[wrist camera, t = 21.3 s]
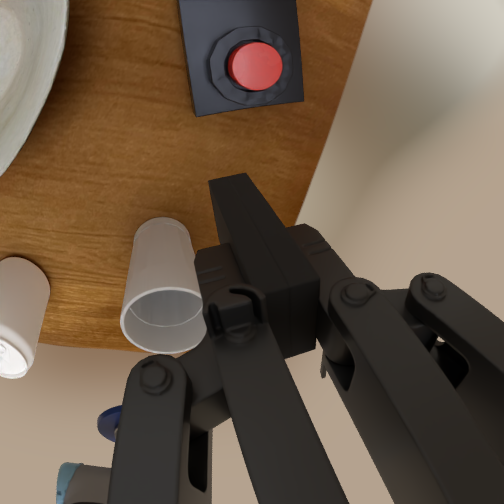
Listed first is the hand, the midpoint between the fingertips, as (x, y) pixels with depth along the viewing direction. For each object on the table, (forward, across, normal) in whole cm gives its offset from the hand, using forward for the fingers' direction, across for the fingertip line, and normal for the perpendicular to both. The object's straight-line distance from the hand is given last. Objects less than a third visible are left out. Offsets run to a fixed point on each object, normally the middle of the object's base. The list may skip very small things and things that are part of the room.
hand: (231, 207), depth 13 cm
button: (+15, +5, +5) cm, 16 cm away
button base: (+18, +6, +7) cm, 20 cm away
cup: (+19, -5, -12) cm, 23 cm away
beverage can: (+19, -24, -12) cm, 33 cm away
